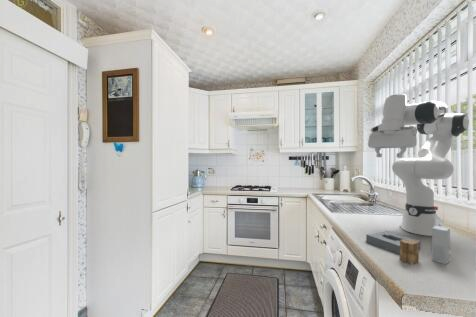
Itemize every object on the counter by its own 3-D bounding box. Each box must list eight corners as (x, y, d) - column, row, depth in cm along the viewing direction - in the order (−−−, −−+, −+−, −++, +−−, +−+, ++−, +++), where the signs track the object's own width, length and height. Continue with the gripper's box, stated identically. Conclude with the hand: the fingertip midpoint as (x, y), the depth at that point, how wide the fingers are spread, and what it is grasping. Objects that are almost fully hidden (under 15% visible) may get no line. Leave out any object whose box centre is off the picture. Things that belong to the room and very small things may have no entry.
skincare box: (434, 256, 84) (435, 225, 85) (450, 260, 81) (450, 227, 81) (431, 260, 81) (431, 227, 81) (447, 264, 77) (447, 230, 77)
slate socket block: (386, 237, 104) (386, 231, 104) (420, 248, 91) (420, 241, 91) (366, 241, 98) (366, 234, 98) (399, 254, 86) (399, 245, 86)
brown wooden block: (408, 257, 83) (408, 238, 83) (420, 261, 79) (420, 242, 79) (398, 259, 80) (398, 240, 81) (410, 264, 77) (410, 244, 77)
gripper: (421, 127, 93) (418, 158, 93) (376, 131, 112) (373, 157, 112) (412, 124, 91) (408, 156, 91) (367, 129, 110) (364, 156, 110)
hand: (388, 157), depth 101 cm, fingers open, 8 cm apart
